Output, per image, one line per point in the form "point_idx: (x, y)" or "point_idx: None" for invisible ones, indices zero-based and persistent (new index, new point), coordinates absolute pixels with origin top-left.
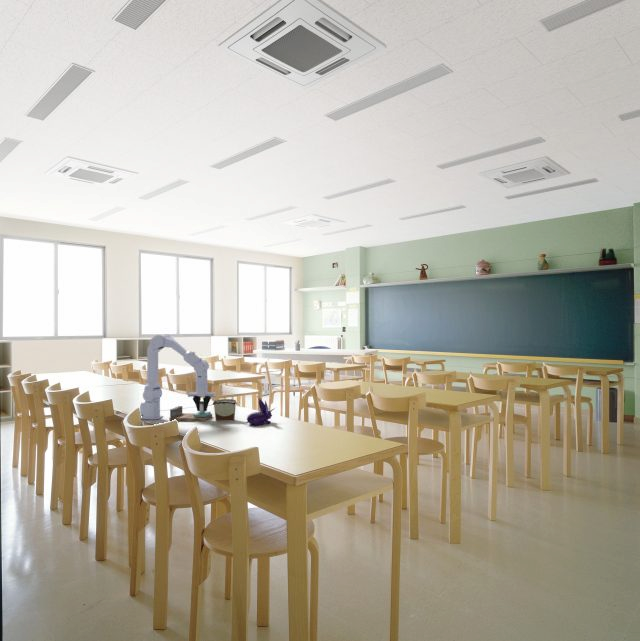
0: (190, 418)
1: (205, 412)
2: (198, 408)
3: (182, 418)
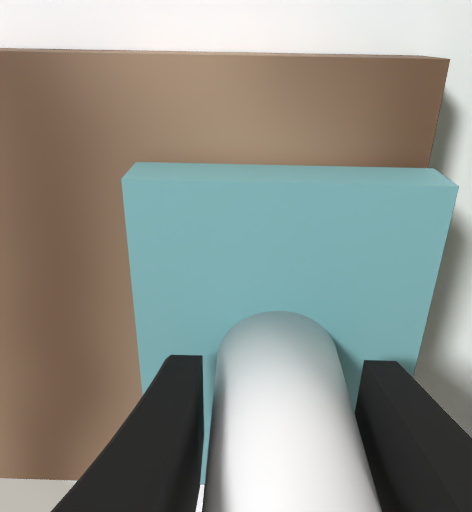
0: None
1: (339, 304)
2: (195, 496)
3: (7, 473)
